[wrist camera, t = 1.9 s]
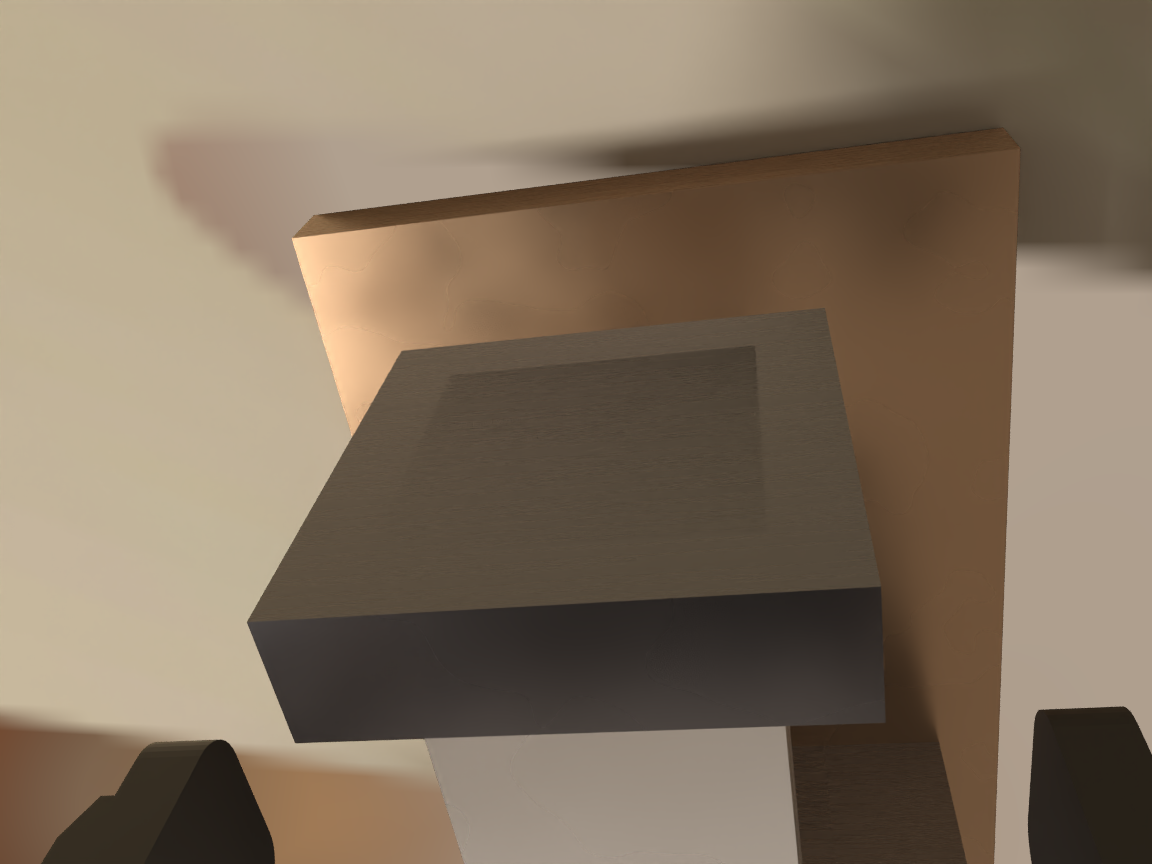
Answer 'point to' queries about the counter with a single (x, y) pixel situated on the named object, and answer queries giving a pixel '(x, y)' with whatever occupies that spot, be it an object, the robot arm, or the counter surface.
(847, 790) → the block
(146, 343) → the counter surface
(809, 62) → the counter surface
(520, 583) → the shaft
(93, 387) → the counter surface
